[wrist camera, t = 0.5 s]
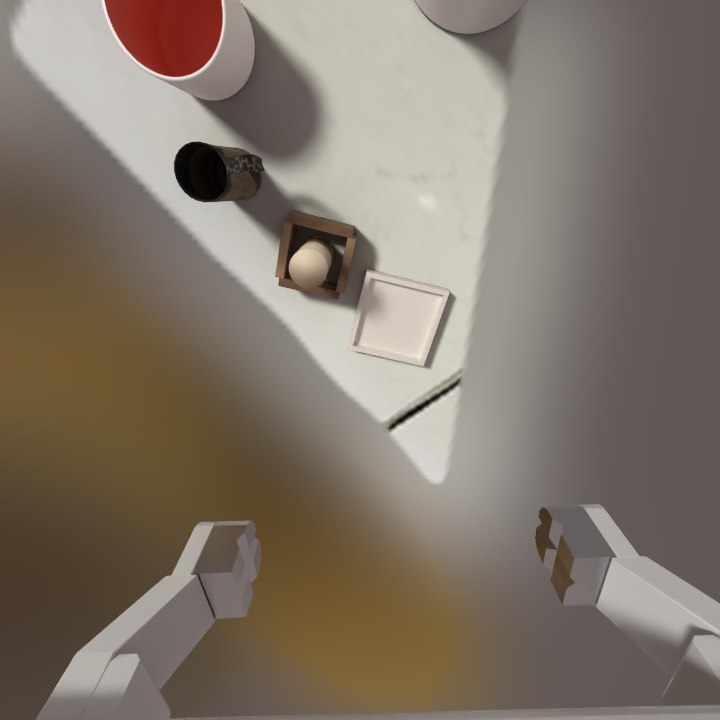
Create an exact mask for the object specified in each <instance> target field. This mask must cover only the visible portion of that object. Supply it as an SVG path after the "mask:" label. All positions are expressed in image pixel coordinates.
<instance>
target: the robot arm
mask: <svg viewBox="0 0 720 720" xmlns="http://www.w3.org/2000/svg"><path fill="white" fill-rule="evenodd" d="M415 1H416V3H417V4H418V6H419V7H420V9H421V10H422V11H423V12H424V14H425V15H426V16H427V17H428V18H429V19H431V20H432V21H433V22H434V23H436V24H437V25H439V26H440V27H442V28H444V29H446V30H449V31H452V32H456V33H462V34H474V33H480V32H484V31H487V30H490V29H492V28H495V27H497V26H498V25H500V24H502V23H503V22H505V21H506V20H508V19H509V18H510V17H512V16H513V15H514V14H515V13H516V12H517V11H518V10H519V9H520V8H521V7H522V6H523V5H524V4H525V3H526V2H527V1H528V0H415ZM539 519H540V520H541V523H542V524H541V525H539V526H538V527H537V528H536V536H535V539H536V547H537V550H538V554H539V556H540V559H541V561H542V563H543V565H544V566H546V567H547V568H548V569H549V570H551V571H552V576H551V582H552V584H553V587H554V588H555V591H556V593H557V595H558V597H559V599H560V601H561V603H562V605H597V606H596V607H597V608H598V609H599V610H600V611H601V612H602V613H603V614H604V615H605V616H607V617H608V618H609V619H610V620H611V621H612V622H613V623H614V624H615V625H616V626H617V627H618V628H619V629H620V630H622V631H623V632H624V633H625V634H626V635H627V636H628V637H629V638H630V639H631V640H632V641H634V643H635V644H637V645H638V646H639V647H640V648H641V649H642V650H643V651H644V652H645V653H646V654H647V655H648V656H650V657H651V658H652V659H653V660H654V661H655V662H656V663H657V664H658V665H659V666H660V667H661V668H662V669H663V670H664V671H665V672H667V673H668V674H669V675H670V676H671V677H672V678H671V680H670V682H669V684H668V686H667V688H666V690H665V692H664V694H663V697H662V699H661V700H662V702H663V704H664V706H643V707H605V708H604V707H603V708H602V707H601V708H565V709H564V708H561V709H524V710H481V711H442V712H405V713H403V712H402V713H366V714H365V713H364V714H324V715H286V716H247V717H211V718H210V717H208V718H172V719H171V718H169V717H170V714H171V712H170V710H169V707H168V705H167V704H166V702H165V700H164V698H163V697H162V695H161V693H160V692H159V690H160V689H161V688H162V686H163V685H164V684H165V683H166V681H167V680H168V679H169V678H170V677H171V675H172V674H173V673H174V671H175V670H176V669H177V668H178V666H179V665H180V664H181V663H182V661H183V660H184V659H185V658H186V656H187V655H188V654H189V653H190V651H191V650H192V649H193V648H194V647H195V645H196V644H197V643H198V642H199V640H200V639H201V638H202V637H203V635H204V634H205V633H206V632H207V630H208V629H209V628H210V626H211V625H212V624H213V623H214V622H215V619H219V618H233V617H246V615H247V612H248V608H249V605H250V601H251V597H252V594H253V590H252V587H251V582H252V581H253V580H254V579H255V578H256V577H257V575H258V571H259V567H260V559H261V549H260V544H259V540H257V539H256V538H255V537H254V534H255V530H256V529H255V526H254V523H253V521H223V522H222V521H221V522H200V523H199V524H198V525H197V526H196V527H195V529H194V531H193V533H192V535H191V537H190V539H189V541H188V543H187V545H186V547H185V549H184V551H183V553H182V555H181V558H180V559H179V561H178V564H177V565H176V567H175V569H174V572H173V574H172V576H166V577H165V578H163V579H162V580H161V581H160V582H159V583H157V584H156V585H155V586H154V587H153V588H152V589H151V590H149V591H148V592H147V593H146V594H145V595H144V596H143V597H141V598H140V599H139V600H138V601H137V602H135V603H134V604H133V605H132V606H131V607H130V608H128V609H127V610H126V611H125V612H124V613H123V614H122V615H121V616H119V617H118V618H117V619H116V620H115V621H114V622H112V623H111V624H110V625H109V626H108V627H106V628H105V629H104V630H103V631H102V632H101V633H100V634H98V635H97V636H96V637H95V638H94V639H92V640H91V641H90V642H89V643H88V644H87V645H85V646H84V647H83V648H82V649H81V650H80V651H79V652H77V653H76V655H75V656H74V658H73V660H72V661H71V663H70V665H69V666H68V668H67V670H66V671H65V673H64V674H63V676H62V678H61V679H60V681H59V683H58V684H57V686H56V687H55V689H54V691H53V693H52V694H51V696H50V697H49V699H48V701H47V702H46V704H45V706H44V707H43V709H42V710H41V712H40V714H39V716H38V717H37V719H36V720H720V604H719V603H718V602H716V601H715V600H713V599H712V598H710V597H709V596H707V595H705V594H704V593H702V592H701V591H699V590H698V589H696V588H694V587H693V586H691V585H690V584H688V583H686V582H685V581H683V580H682V579H680V578H679V577H677V576H675V575H674V574H672V573H671V572H669V571H668V570H666V569H665V568H663V567H661V566H660V565H658V564H657V563H655V562H654V561H652V560H650V559H649V558H647V557H640V556H639V555H638V554H637V552H636V551H635V550H634V548H633V547H632V546H631V544H630V543H629V541H628V540H627V539H626V538H625V536H624V535H623V533H622V532H621V531H620V529H619V528H618V527H617V525H616V524H615V523H614V522H613V520H612V519H611V517H610V516H609V515H608V513H607V512H606V511H605V509H604V508H603V507H602V506H600V505H599V504H590V505H567V506H550V507H542V508H541V510H540V512H539Z"/></svg>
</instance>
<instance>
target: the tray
mask: <svg viewBox="0 0 720 720" xmlns="http://www.w3.org/2000/svg"><path fill="white" fill-rule="evenodd" d="M449 293H450V292H449V291H448V289H447V288H443V287H439V286H435V285H431V284H427V283H423V282H419V281H414V280H410V279H406V278H402V277H398V276H394V275H390V274H386V273H382V272H378V271H374V270H370V269H367V270H366V274H365V278H364V282H363V286H362V290H361V294H360V298H359V302H358V306H357V310H356V314H355V318H354V322H353V326H352V330H351V334H350V338H349V342H348V349H349V350H353V351H357V352H362V353H366V354H371V355H375V356H380V357H384V358H389V359H393V360H397V361H402V362H406V363H411V364H415V365H420V366H424V363H425V361H426V358H427V355H428V352H429V349H430V347H431V344H432V341H433V338H434V335H435V332H436V330H437V327H438V324H439V321H440V318H441V315H442V313H443V310H444V307H445V304H446V301H447V299H448V296H449Z"/></svg>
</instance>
